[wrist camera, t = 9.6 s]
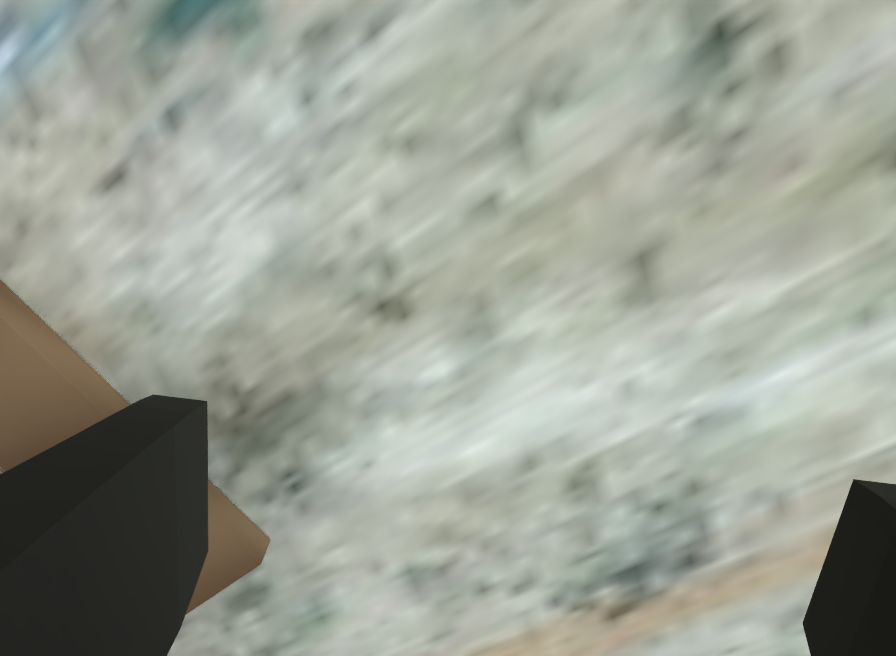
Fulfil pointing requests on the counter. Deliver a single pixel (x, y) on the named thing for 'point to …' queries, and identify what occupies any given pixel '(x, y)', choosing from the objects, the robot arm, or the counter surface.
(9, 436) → the walnut board
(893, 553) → the robot arm
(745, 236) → the counter surface
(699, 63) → the counter surface
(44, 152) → the counter surface
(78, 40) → the counter surface
